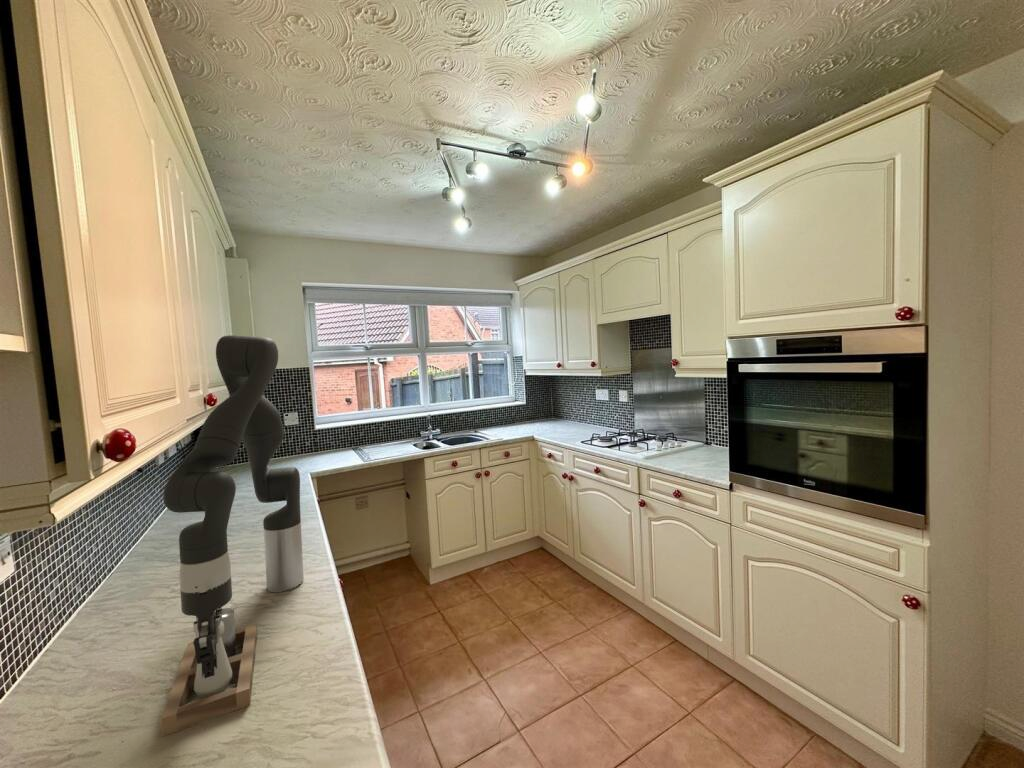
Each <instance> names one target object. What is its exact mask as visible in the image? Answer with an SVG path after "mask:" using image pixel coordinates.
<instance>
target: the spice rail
mask: <svg viewBox="0 0 1024 768" xmlns="http://www.w3.org/2000/svg"><path fill="white" fill-rule="evenodd" d="M257 628H258V627H257V624H252V625H249V626H246V627H242V628H239V629H235V635H236V648H238V647H241V646H242V651H241V653H238V654H237V655H235V656H232V657H229V658H228V660H229V663H230V666H231V669H232V678H234V677H236V676H238V678H237V685H236V687H233V688H231V689H228V690H227V689H226V690H225V691H224V692H221V693H218V694H215V695H212V696H209V697H207V698H204V699H198V700H195V701H192V702H190V703H187V700H188V697H189V694H190V691H194V683H195V677H196V670H197V663H198V662H197V657H196V652H195V647H194V644H193V641H191V642H189V643H187V644H186V645H187V646H186V648H185V652H184V654H183V657H182V660H181V662H180V665H179V667H178V670H177V673H176V676H175V678H174V681H173V684H172V687H171V689H170V693H169V696H168V698H167V701H166V704H165V706H164V710H163V712H162V715H161V718H160V724H161V736H162V737H164V736H167V735H169V734H173V733H176V732H178V731H182V730H184V729H186V728H189V727H193V726H194V725H197V724H200V723H203V722H206V721H209V720H212V719H215V718H217V717H219V716H223V715H226V714H229V713H230V712H231V713H232V712H234V711H237V710H239V709H242V708H245V707H249V706H251V701H252V694H253V693H252V691H253V690H252V689H253V681H254V671H255V663H256V662H255V661H256V651H257V643H258V631H257V630H258V629H257ZM186 703H187V704H186Z"/></svg>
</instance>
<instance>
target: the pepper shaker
mask: <svg viewBox="0 0 1024 768" xmlns="http://www.w3.org/2000/svg"><path fill="white" fill-rule="evenodd" d="M222 621H223V623H224V633H223V634H222V635H221V638H222V641H223V645H224V648H225V651H226V654H227V657H228V658H229V657H232V656H235V655H238V654H237V647H236V635H235V630H236V623H235V622H236V621H235V609H234V608H229V607H228V608H227V607H224V608H223V616H222Z"/></svg>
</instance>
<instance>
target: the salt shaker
mask: <svg viewBox="0 0 1024 768" xmlns="http://www.w3.org/2000/svg"><path fill="white" fill-rule="evenodd" d="M219 629H220V639H219V642H218V643H217V651H218V654H217V669H216V667H215V666H214V675H213V676H210V677H207V678H205V677H204V675H203V678H202V663H200V664H198V663H197V670H196V677H195V683H194V690H193V691H194V692H195V695H197V697H198V698H199V700H201V699H204V698H207V697H209V696H212V695H215V694H218V693H221V692H224V691H227V689H229V685H230V683H231V680H232V678H233V677H232V669H231V666H230V663H229V660H228V657H227V654H226V651H225V648H224V645H223V641H222V638H221V635H222V634H223V633H224V623H223V621H221V624H220V628H219ZM215 637H216V634H214V636H213V639H214V638H215ZM209 672H210V671H209Z"/></svg>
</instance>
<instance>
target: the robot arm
mask: <svg viewBox="0 0 1024 768" xmlns="http://www.w3.org/2000/svg"><path fill="white" fill-rule="evenodd" d="M215 359H216V362H217V363H216V364H217V367H218V371H219V372H220V374H221V378H222V381H223V382H224V384H225V387H226V389H227V392H228V394H229V397H227V398H226V399H225V400H223V401H222V402H221V403H220V404H218V405H217V406H216V407H215V408H214V409H213V410H212V411H211V412H210V413H209V415H208V416H207V417H206V419H205V420H204V423H203V425H202V427H201V430H200V431H199V434H198V436H197V439H196V442H195V443H194V447H193V448H192V450H191V451H190V452H189V453H188V454H187V455H186V457H185V458H184V460H183V461H182V462H180V465H179V466H178V467H177V468H176V469H175V470H174V472H173V473H172V474H171V476H170V477H169V478H168V481H167V482H166V484H165V486H164V489H163V498H162V499H163V502H164V503H163V504H164V505H165V507H166V508H167V510H168V511H170V512H173V513H179V514H180V513H181V514H182V513H199V512H201V513H203V512H204V517H203V520H202V521H198V522H195V523H192V524H189V525H187V526H185V527H184V528H183V529H181V531H180V533H179V535H178V546H179V547H178V548H179V560H180V566H179V590H180V591H179V592H180V607H181V613H182V614H184V615H186V616H194V617H195V620H194V622H193V633H194V634H195V638H194V640H193V641H192V642H193V644H194V647H195V652H196V657H197V662H198V664H200V663H202V678H203V675H204V677H205V678H207V677H210V676H213V675H214V666H215V667H216V669H217V654H218V651H217V643H218V642H219V639H220V629H219V628H220V624H221V621H222V616H223V609H224V608H223V607H224V606H226V605H227V604H228V603H229V602H230V601H231V599H232V598H233V586H232V583H233V582H232V571H231V570H232V568H231V559H230V556H229V548H228V546H229V545H228V533H227V531H228V525H229V520H230V517H231V512H232V509H233V505H234V504H233V503H234V501H235V497H236V489H237V487H236V482H235V480H234V478H233V476H232V475H231V474H230V473H228V472H226V471H213V470H214V469H217V468H219V467H222V466H226V465H229V464H231V463H232V462H233V461H234V460H236V457H237V454H238V452H239V448H240V446H241V444H242V441H243V444H244V448H245V450H246V454H247V457H248V458H247V459H248V461H249V465H250V470H251V478H252V482H253V488H254V494H255V496H256V498H257V501H258V502H260V503H263V504H264V503H265V504H271V503H277V502H285V501H286V504H285V505H284V506H282V507H281V508H279V509H277V510H275V511H273V512H271V513H268V514H267V515H265V517H264V518H263V522H262V523H263V525H262V526H263V538H264V539H263V540H264V541H263V542H264V557H265V558H264V559H265V577H266V578H265V579H266V589H267V591H268V592H271V593H283V592H287V591H289V589H290V590H292V588H293V589H295V588H297V587H299V586H300V585H301V584H302V583H303V582H304V580H305V579H304V557H303V535H302V522H301V521H302V519H301V476H300V471H299V470H298V468H297V467H294V466H290V467H289V466H287V467H278V468H268V464H269V462H270V460H271V458H272V457H273V456H274V454H275V453H276V452H277V450H278V449H279V448H280V446H281V445H282V443H283V440H284V438H285V429H284V424H283V421H282V415H281V413H280V411H279V410H278V409H277V407H276V406H275V405H274V404H273V403H272V402H271V401H270V400H269V399H268V398H266V396H264V393H265V391H266V390H267V387H268V386H269V384H270V382H271V380H272V378H273V376H274V373H275V371H276V370H277V367H278V362H279V361H278V360H279V349H278V345H277V344H276V342H275V341H274V340H273V339H271V338H269V337H263V336H253V335H252V336H251V335H237V334H236V335H234V334H233V335H229V334H228V335H224V336H222V337H220V338H219V339H218V341H217V343H216V348H215ZM303 579H304V580H303ZM302 581H303V582H302ZM301 582H302V583H301ZM300 583H301V584H300ZM299 584H300V585H299ZM298 585H299V586H298ZM296 586H297V587H296ZM294 587H295V588H294ZM286 590H287V591H286ZM282 591H283V592H282ZM214 634H216V637H215V638H214V639H213V636H214ZM209 671H210V672H209Z"/></svg>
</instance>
